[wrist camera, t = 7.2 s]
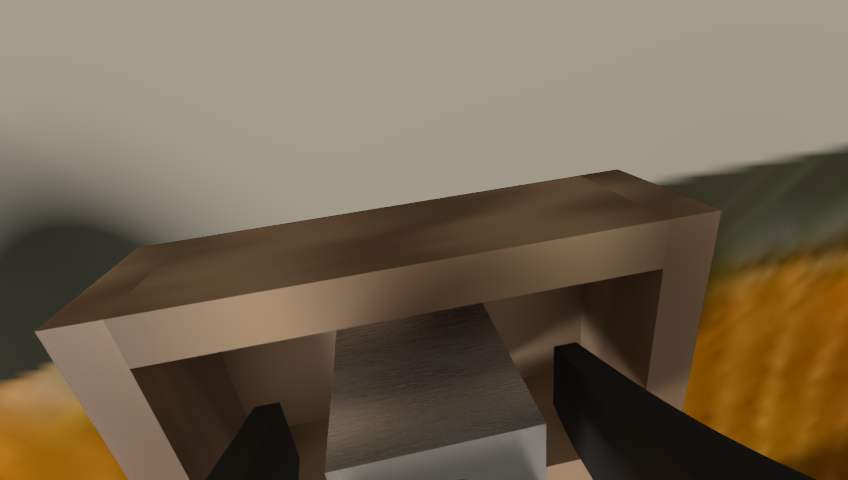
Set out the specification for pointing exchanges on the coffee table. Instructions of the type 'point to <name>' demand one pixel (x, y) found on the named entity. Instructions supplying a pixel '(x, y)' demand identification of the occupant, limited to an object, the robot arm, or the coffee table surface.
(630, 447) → the robot arm
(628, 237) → the well block
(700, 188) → the coffee table surface
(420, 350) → the bracket
